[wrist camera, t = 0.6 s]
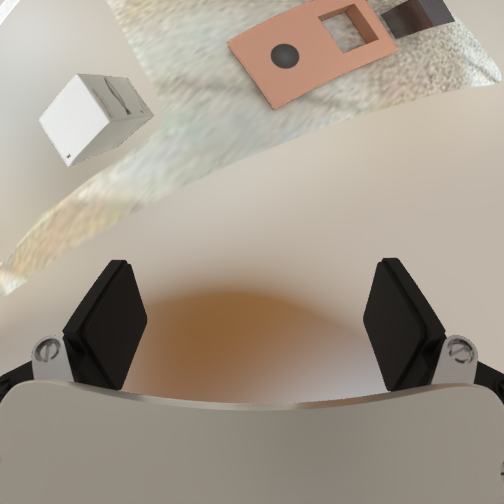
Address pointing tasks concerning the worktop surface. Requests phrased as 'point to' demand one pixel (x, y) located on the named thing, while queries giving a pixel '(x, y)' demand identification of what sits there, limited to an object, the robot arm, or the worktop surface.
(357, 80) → the worktop surface
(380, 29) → the bore block
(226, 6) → the worktop surface
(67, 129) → the supplement box
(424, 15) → the square peg
